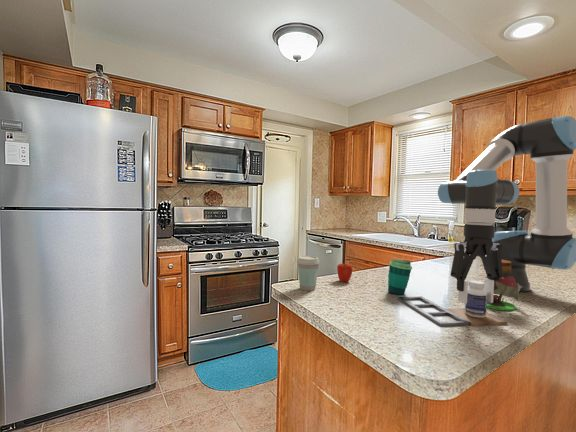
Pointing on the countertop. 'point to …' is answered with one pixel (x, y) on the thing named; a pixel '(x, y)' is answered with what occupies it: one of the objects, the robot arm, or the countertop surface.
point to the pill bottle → (476, 299)
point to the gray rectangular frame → (431, 314)
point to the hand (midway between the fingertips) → (475, 301)
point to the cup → (398, 276)
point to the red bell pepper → (344, 272)
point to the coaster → (476, 321)
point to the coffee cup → (308, 272)
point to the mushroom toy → (505, 290)
